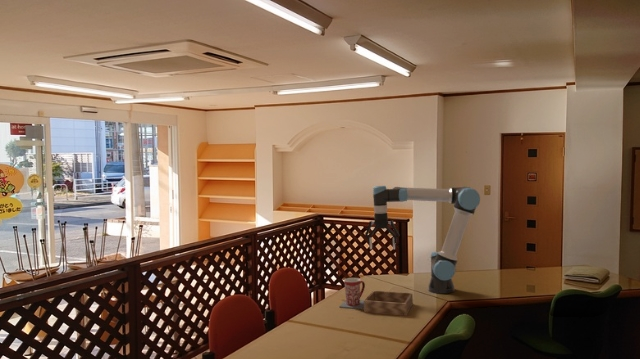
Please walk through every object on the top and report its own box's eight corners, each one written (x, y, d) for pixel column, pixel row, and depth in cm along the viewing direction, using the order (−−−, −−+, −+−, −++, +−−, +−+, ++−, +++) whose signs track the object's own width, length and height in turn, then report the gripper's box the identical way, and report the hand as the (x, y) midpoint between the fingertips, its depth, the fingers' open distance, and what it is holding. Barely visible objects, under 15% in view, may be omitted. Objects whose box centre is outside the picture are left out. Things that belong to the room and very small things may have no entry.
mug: (350, 307, 256) (350, 282, 256) (341, 303, 264) (340, 279, 264) (369, 303, 263) (369, 279, 262) (360, 299, 271) (359, 275, 270)
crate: (412, 304, 261) (412, 293, 261) (406, 315, 242) (405, 303, 242) (373, 301, 269) (373, 290, 269) (364, 312, 250) (363, 300, 250)
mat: (370, 301, 267) (370, 300, 267) (364, 309, 254) (364, 308, 254) (347, 300, 272) (347, 299, 272) (339, 307, 259) (339, 306, 259)
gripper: (403, 211, 275) (405, 247, 276) (361, 212, 283) (363, 247, 284) (401, 213, 268) (403, 250, 269) (358, 213, 276) (360, 250, 277)
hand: (382, 249), depth 277 cm, fingers open, 13 cm apart
